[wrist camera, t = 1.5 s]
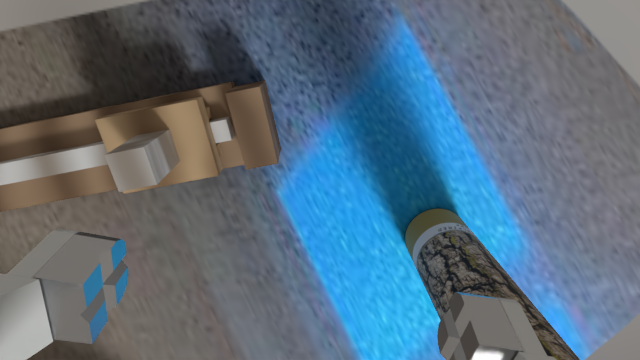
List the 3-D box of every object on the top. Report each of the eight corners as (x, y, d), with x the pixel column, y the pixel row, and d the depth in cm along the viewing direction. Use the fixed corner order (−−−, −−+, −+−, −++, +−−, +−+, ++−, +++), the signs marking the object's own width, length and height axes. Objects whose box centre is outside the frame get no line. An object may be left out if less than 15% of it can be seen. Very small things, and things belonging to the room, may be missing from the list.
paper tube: (405, 206, 44) (519, 401, 21) (466, 205, 44) (648, 398, 21) (401, 260, 47) (498, 490, 23) (459, 259, 47) (614, 487, 23)
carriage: (205, 93, 38) (175, 112, 29) (225, 164, 40) (203, 201, 31) (112, 112, 38) (53, 136, 29) (138, 181, 40) (91, 222, 31)
